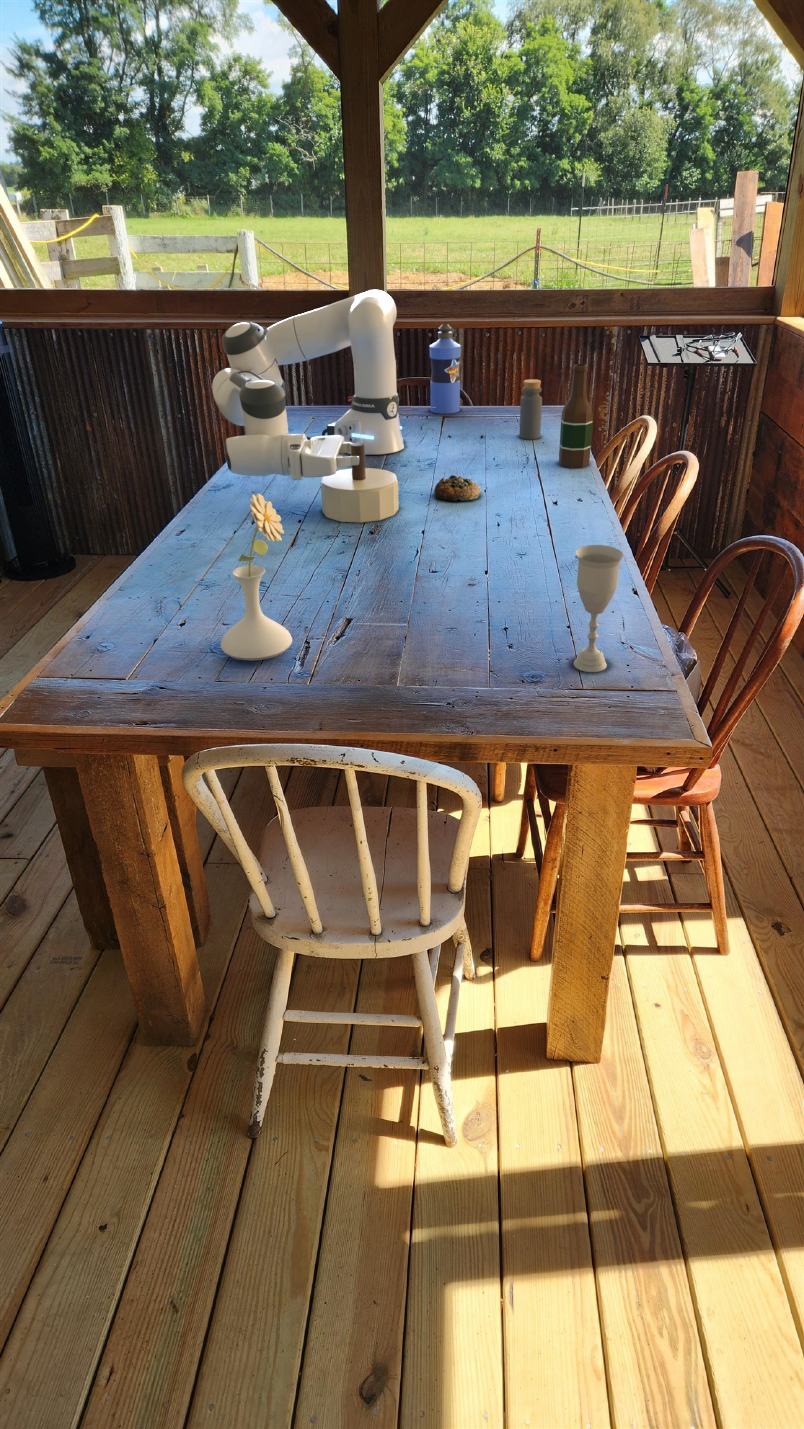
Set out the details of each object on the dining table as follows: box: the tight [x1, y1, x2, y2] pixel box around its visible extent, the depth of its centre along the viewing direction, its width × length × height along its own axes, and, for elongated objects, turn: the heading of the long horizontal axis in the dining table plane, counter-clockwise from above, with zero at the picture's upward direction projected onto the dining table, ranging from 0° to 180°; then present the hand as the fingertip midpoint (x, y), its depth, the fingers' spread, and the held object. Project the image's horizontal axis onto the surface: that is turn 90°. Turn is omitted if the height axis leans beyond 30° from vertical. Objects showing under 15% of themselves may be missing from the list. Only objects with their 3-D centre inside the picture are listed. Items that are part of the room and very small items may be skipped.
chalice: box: [573, 544, 625, 673], centre depth 143 cm, size 7×7×18 cm
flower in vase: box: [220, 493, 293, 662], centre depth 149 cm, size 13×11×25 cm
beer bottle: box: [558, 363, 594, 469], centre depth 237 cm, size 8×8×24 cm
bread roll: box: [434, 474, 482, 502], centre depth 222 cm, size 11×11×5 cm
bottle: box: [518, 378, 543, 440], centre depth 263 cm, size 6×6×15 cm
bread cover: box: [320, 443, 400, 524], centre depth 211 cm, size 17×17×15 cm
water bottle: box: [429, 323, 462, 415], centre depth 291 cm, size 9×9×25 cm
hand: (361, 454), depth 209 cm, fingers open, 8 cm apart
